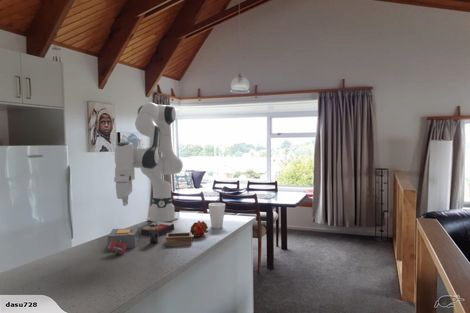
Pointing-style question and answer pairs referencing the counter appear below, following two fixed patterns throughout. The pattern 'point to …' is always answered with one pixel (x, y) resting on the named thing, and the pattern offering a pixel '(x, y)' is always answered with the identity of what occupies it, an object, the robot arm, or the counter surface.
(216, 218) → the foam cup
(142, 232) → the calculator
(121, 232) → the button
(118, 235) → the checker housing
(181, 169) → the robot arm
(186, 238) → the box
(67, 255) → the counter surface
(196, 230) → the dragon fruit
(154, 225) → the battery cell
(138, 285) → the counter surface
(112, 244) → the geometric puzzle
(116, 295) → the counter surface
